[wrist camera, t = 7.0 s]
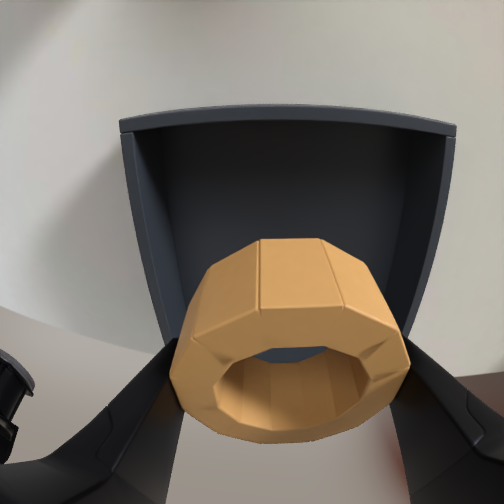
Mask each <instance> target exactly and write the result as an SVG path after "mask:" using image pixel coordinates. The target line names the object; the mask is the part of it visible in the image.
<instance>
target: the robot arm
mask: <svg viewBox="0 0 504 504" xmlns="http://www.w3.org/2000/svg"><path fill="white" fill-rule="evenodd" d="M401 335H402V338H403V341H404V344H405V347H406V350H407V353H408V357H409V360H410V368H409V370H408V372H407V374H406V376H405V378H404V380H403V382H402V384H401V386H400V388H399V390H398V392H397V394H396V395H395V397H394V399H393V400H392V402H391V403H390V404H389V405H390V408H391V412H392V416H393V420H394V424H395V428H396V433H397V437H398V440H399V446H400V450H401V455H402V459H403V464H404V469H405V474H406V479H407V484H408V490H409V495H410V502H411V504H504V417H502V416H501V415H500V414H498V413H497V412H496V411H494V410H493V409H492V408H490V407H489V406H487V405H486V404H485V403H484V402H482V401H481V400H480V399H479V398H478V397H476V396H475V395H474V394H473V393H472V392H471V391H469V390H467V388H466V387H465V386H464V385H462V384H461V383H460V382H459V381H458V380H457V379H455V378H454V377H453V376H452V375H451V374H450V373H448V372H447V371H446V370H445V369H444V368H443V367H441V366H440V365H439V364H438V363H437V362H435V361H434V360H433V359H432V358H431V357H430V356H428V355H427V354H426V353H425V352H424V351H422V350H421V349H420V348H419V347H418V346H416V345H415V344H414V343H413V342H411V341H410V340H409V339H408V338H407V337H405V336H404V335H403V334H402V333H401ZM178 340H179V338H177V337H174V338H172V339H171V340H170V341H169V342H168V343H167V344H166V345H165V346H164V347H163V348H162V350H161V351H160V352H159V353H158V354H157V355H156V356H155V357H154V358H153V359H152V360H151V361H150V362H149V363H148V364H147V365H146V366H145V367H144V368H143V369H142V370H141V371H140V372H139V373H138V374H137V375H136V376H135V377H134V378H133V379H132V380H131V381H130V382H129V384H128V385H126V386H125V388H124V389H123V390H122V391H121V392H120V393H119V394H118V395H117V396H116V397H115V398H114V399H113V400H112V401H111V402H110V403H109V404H108V406H106V407H105V408H104V409H103V410H102V411H101V412H100V413H99V414H98V415H97V416H96V417H95V418H94V419H93V420H92V421H91V422H90V423H89V424H88V425H86V426H85V427H84V428H83V429H82V430H80V431H79V432H78V433H77V434H76V435H74V436H73V437H72V438H71V439H69V440H68V441H67V442H66V443H64V444H63V445H62V446H60V447H59V448H58V449H57V450H55V451H54V452H53V453H51V454H50V455H48V456H46V457H44V458H41V459H38V460H33V461H26V462H19V463H11V464H4V463H5V462H6V461H7V460H8V458H9V456H10V454H11V452H12V448H13V445H14V441H15V438H16V435H17V432H18V429H19V428H18V426H16V425H14V424H13V423H12V422H11V421H12V419H13V417H14V415H15V413H16V411H17V409H18V407H19V405H20V403H21V401H22V399H23V397H24V395H25V394H26V395H28V396H31V397H32V396H33V392H32V391H31V390H30V388H29V387H28V386H27V384H26V383H25V382H24V380H23V379H22V378H21V376H20V375H19V374H18V372H17V371H16V369H15V368H14V367H13V365H12V364H11V363H9V362H7V361H4V360H1V359H0V504H165V503H166V498H167V493H168V487H169V482H170V478H171V473H172V468H173V463H174V458H175V453H176V449H177V444H178V439H179V435H180V430H181V425H182V421H183V416H184V412H185V411H184V410H183V409H182V408H181V405H180V403H179V400H178V398H177V395H176V393H175V390H174V388H173V385H172V382H171V380H170V377H169V376H170V369H171V365H172V361H173V358H174V354H175V351H176V347H177V344H178Z"/></svg>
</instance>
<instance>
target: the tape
mask: <svg viewBox="0 0 504 504" xmlns="http://www.w3.org/2000/svg"><path fill="white" fill-rule="evenodd" d="M317 346H325V347H327V349H326V350H325V351H324V352H322V353H320V354H317V355H315V356H313V357H310V358H308V359H305V360H303V361H300V362H294V363H269V362H266V361H263V360H260V359H258V358H255V357H252V356H254V355H257V354H259V353H262V352H264V351H267V350H269V349H272V348H296V347H317ZM409 368H410V360H409V357H408V353H407V350H406V347H405V344H404V341H403V338H402V335H401V332H400V330H399V327H398V325H397V323H396V321H395V319H394V317H393V315H392V313H391V311H390V309H389V307H388V305H387V303H386V301H385V299H384V297H383V295H382V294H381V292H380V290H379V288H378V286H377V284H376V282H375V280H374V278H373V276H372V275H371V273H370V271H369V269H368V267H367V266H366V265H365V264H364V262H362V261H360V260H358V259H357V258H355V257H353V256H351V255H349V254H348V253H346V252H344V251H342V250H340V249H339V248H337V247H335V246H333V245H331V244H330V243H328V242H326V241H324V240H322V239H321V240H320V239H319V238H300V239H260V241H256V242H254V243H252V244H250V245H248V246H246V247H245V248H243V249H241V250H239V251H237V252H235V253H234V254H232V255H230V256H228V257H226V258H224V259H223V260H221V261H219V262H217V263H215V264H213V265H212V266H211V267H210V268H209V269H207V271H206V273H205V275H204V277H203V279H202V281H201V283H200V285H199V286H198V288H197V290H196V292H195V294H194V296H193V298H192V300H191V302H190V304H189V306H188V309H187V313H186V316H185V320H184V323H183V326H182V330H181V333H180V337H179V340H178V344H177V347H176V351H175V354H174V358H173V361H172V365H171V369H170V376H169V377H170V380H171V382H172V385H173V388H174V390H175V393H176V395H177V398H178V400H179V403H180V405H181V408H182V409H183V410H184V411H185V412H187V413H188V414H189V415H191V416H192V417H194V418H195V419H196V420H198V421H199V422H201V423H202V424H204V425H205V426H207V427H208V428H210V429H212V430H213V431H215V432H217V433H218V434H222V435H225V436H229V437H233V438H237V439H241V440H245V441H250V442H255V443H259V444H262V443H263V444H278V443H300V442H309V441H315V440H319V439H322V438H325V437H328V436H332V435H335V434H338V433H341V432H344V431H347V430H349V429H353V428H355V427H357V426H359V425H361V424H362V423H364V422H365V421H366V420H368V419H369V418H371V417H372V416H373V415H375V414H376V413H378V412H379V411H380V410H381V409H383V408H384V407H386V406H387V405H388V404H390V403H391V402H392V400H393V399H394V397H395V395H396V394H397V392H398V390H399V388H400V386H401V384H402V382H403V380H404V378H405V376H406V374H407V372H408V370H409Z"/></svg>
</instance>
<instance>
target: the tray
mask: <svg viewBox="0 0 504 504" xmlns="http://www.w3.org/2000/svg"><path fill="white" fill-rule="evenodd" d="M119 127H120V133H122V134H121V135H120V137H121V145H122V153H123V161H124V168H125V174H126V181H127V187H128V193H129V199H130V205H131V210H132V216H133V221H134V226H135V231H136V236H137V241H138V245H139V250H140V254H141V259H142V263H143V267H144V271H145V275H146V279H147V283H148V287H149V291H150V295H151V299H152V303H153V306H154V310H155V313H156V317H157V320H158V324H159V327H160V331H161V334H162V337H163V340H164V344H165V345H166V344H167V343H168V342H169V341H170V340H171V339H172V338H174V337H177V338H179V337H180V333H181V330H182V326H183V323H184V320H185V316H186V313H187V309H188V306H189V304H190V302H191V300H192V298H193V296H194V294H195V292H196V290H197V288H198V286H199V285H200V283H201V281H202V279H203V277H204V275H205V273H206V271H207V269H209V268H210V267H211V266H212V265H213V264H215V263H217V262H219V261H221V260H223V259H224V258H226V257H228V256H230V255H232V254H234V253H235V252H237V251H239V250H241V249H243V248H245V247H246V246H248V245H250V244H252V243H254V242H256V241H260V239H300V238H319V239H320V240H321V239H322V240H324V241H326V242H328V243H330V244H331V245H333V246H335V247H337V248H339V249H340V250H342V251H344V252H346V253H348V254H349V255H351V256H353V257H355V258H357V259H358V260H360V261H362V262H364V264H365V265H366V266H367V267H368V269H369V271H370V273H371V275H372V276H373V278H374V280H375V282H376V284H377V286H378V288H379V290H380V292H381V294H382V295H383V297H384V299H385V301H386V303H387V305H388V307H389V309H390V311H391V313H392V315H393V317H394V319H395V321H396V323H397V325H398V327H399V330H400V332H401V333H402V334H403V335H404V336H405V337H407V338H408V336H409V333H410V331H411V328H412V325H413V323H414V320H415V317H416V315H417V312H418V309H419V306H420V303H421V300H422V297H423V294H424V291H425V288H426V285H427V282H428V278H429V275H430V271H431V268H432V264H433V261H434V257H435V253H436V250H437V246H438V242H439V238H440V233H441V229H442V225H443V220H444V215H445V210H446V205H447V200H448V194H449V188H450V182H451V175H452V168H453V161H454V152H455V142H456V138H454V137H456V128H457V126H456V125H455V124H451V123H447V122H443V121H439V120H434V119H429V118H425V117H420V116H415V115H409V114H402V113H396V112H389V111H381V110H373V109H364V108H353V107H341V106H327V105H305V104H249V105H227V106H212V107H199V108H189V109H180V110H171V111H164V112H156V113H150V114H144V115H139V116H134V117H129V118H124V119H120V120H119ZM326 349H327V347H325V346H317V347H296V348H272V349H269V350H267V351H264V352H262V353H259V354H257V355H254V356H252V357H255V358H258V359H260V360H263V361H266V362H269V363H294V362H300V361H303V360H305V359H308V358H310V357H313V356H315V355H317V354H320V353H322V352H324V351H325V350H326Z"/></svg>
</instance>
